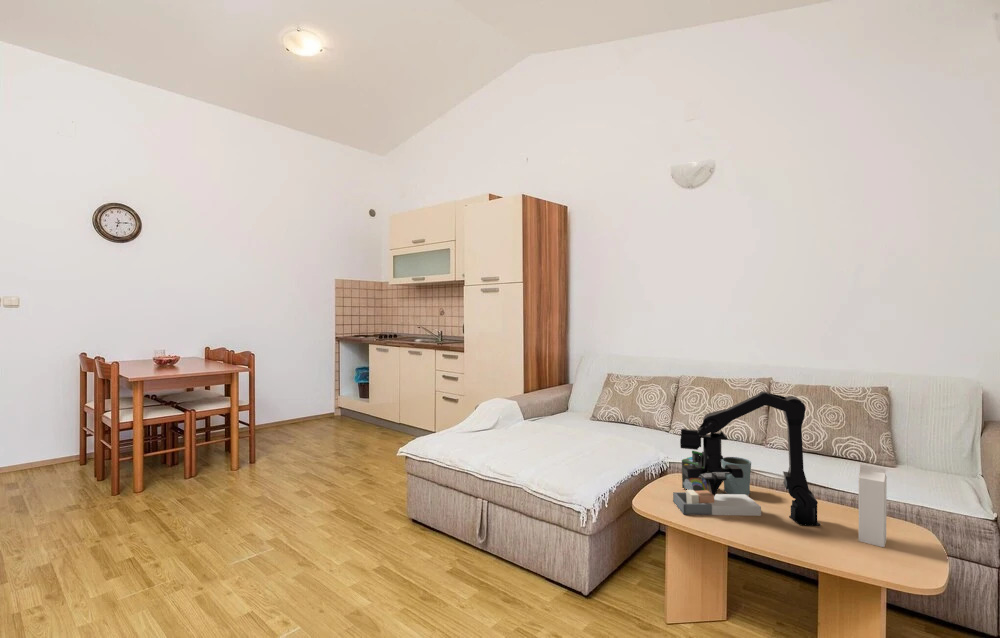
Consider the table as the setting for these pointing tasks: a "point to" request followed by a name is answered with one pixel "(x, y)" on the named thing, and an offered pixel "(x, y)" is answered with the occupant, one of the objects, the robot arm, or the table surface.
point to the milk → (872, 505)
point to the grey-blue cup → (737, 484)
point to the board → (734, 505)
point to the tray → (690, 505)
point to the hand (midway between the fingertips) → (712, 496)
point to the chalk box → (693, 483)
